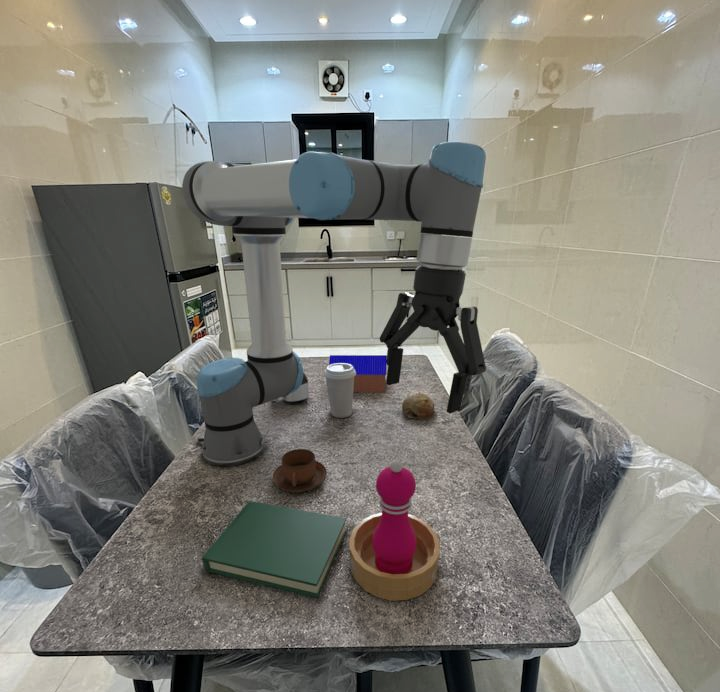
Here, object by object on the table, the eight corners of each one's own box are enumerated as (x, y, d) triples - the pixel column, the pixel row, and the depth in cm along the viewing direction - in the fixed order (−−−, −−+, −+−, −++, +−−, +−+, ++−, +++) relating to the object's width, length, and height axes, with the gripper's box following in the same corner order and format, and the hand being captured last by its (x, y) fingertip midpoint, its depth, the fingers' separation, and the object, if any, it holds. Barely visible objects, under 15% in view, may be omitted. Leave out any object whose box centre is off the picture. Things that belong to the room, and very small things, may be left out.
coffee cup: (353, 421, 114) (352, 373, 108) (322, 418, 116) (319, 371, 110) (359, 407, 122) (358, 362, 116) (330, 405, 124) (328, 361, 118)
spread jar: (312, 402, 127) (310, 369, 122) (281, 411, 121) (277, 376, 116) (297, 391, 136) (294, 359, 131) (266, 398, 130) (262, 366, 125)
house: (333, 380, 146) (332, 350, 141) (386, 380, 144) (386, 350, 140) (329, 392, 135) (327, 360, 130) (386, 392, 133) (386, 360, 129)
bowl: (339, 590, 60) (337, 566, 58) (363, 526, 73) (363, 505, 71) (432, 612, 56) (435, 587, 54) (441, 541, 69) (443, 519, 67)
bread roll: (399, 424, 119) (396, 408, 113) (407, 400, 125) (405, 383, 119) (431, 430, 115) (429, 413, 110) (438, 404, 121) (437, 387, 116)
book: (204, 571, 64) (201, 557, 63) (251, 512, 77) (249, 500, 76) (317, 598, 59) (316, 584, 58) (346, 530, 72) (346, 518, 71)
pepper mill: (403, 587, 60) (408, 481, 52) (364, 568, 64) (362, 466, 55) (422, 556, 66) (428, 456, 58) (385, 540, 69) (386, 444, 61)
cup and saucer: (332, 491, 83) (330, 467, 81) (276, 502, 80) (272, 477, 78) (321, 462, 94) (319, 440, 91) (271, 470, 91) (268, 448, 88)
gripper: (532, 278, 52) (497, 418, 60) (397, 258, 68) (385, 370, 77) (504, 279, 47) (470, 431, 55) (366, 257, 63) (357, 377, 72)
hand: (420, 396), depth 66 cm, fingers open, 13 cm apart
